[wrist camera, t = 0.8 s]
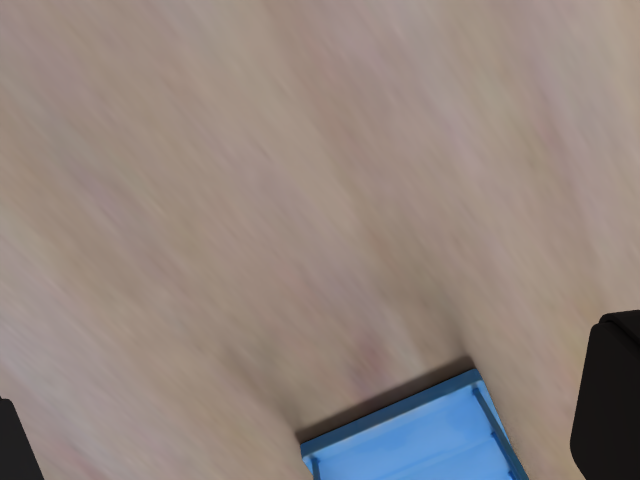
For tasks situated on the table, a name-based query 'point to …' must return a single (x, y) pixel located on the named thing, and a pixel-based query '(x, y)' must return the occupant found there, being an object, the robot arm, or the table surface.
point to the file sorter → (421, 439)
